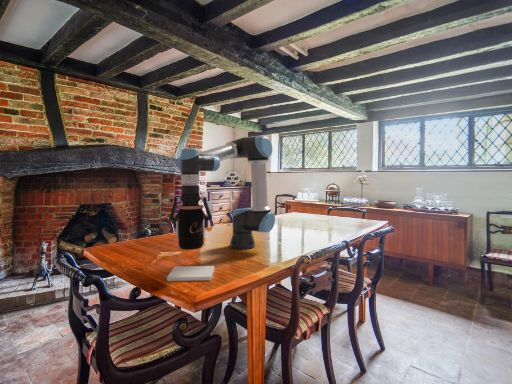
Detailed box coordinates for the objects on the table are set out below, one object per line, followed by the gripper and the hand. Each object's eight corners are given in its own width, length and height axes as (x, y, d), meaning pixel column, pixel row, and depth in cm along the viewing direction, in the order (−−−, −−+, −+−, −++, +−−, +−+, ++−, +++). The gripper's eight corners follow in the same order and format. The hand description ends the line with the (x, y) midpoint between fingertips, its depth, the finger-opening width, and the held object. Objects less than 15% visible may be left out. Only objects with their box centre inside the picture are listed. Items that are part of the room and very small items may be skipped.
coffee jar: (191, 251, 119) (190, 207, 117) (173, 248, 124) (172, 206, 123) (208, 246, 128) (208, 205, 126) (191, 243, 133) (190, 204, 132)
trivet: (214, 269, 134) (214, 265, 134) (210, 280, 120) (210, 276, 120) (174, 269, 133) (174, 266, 133) (166, 281, 119) (166, 277, 119)
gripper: (160, 185, 120) (161, 237, 121) (216, 185, 121) (217, 237, 122) (165, 184, 127) (166, 234, 129) (218, 184, 128) (218, 233, 130)
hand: (191, 235), depth 126 cm, fingers closed on coffee jar, 11 cm apart
